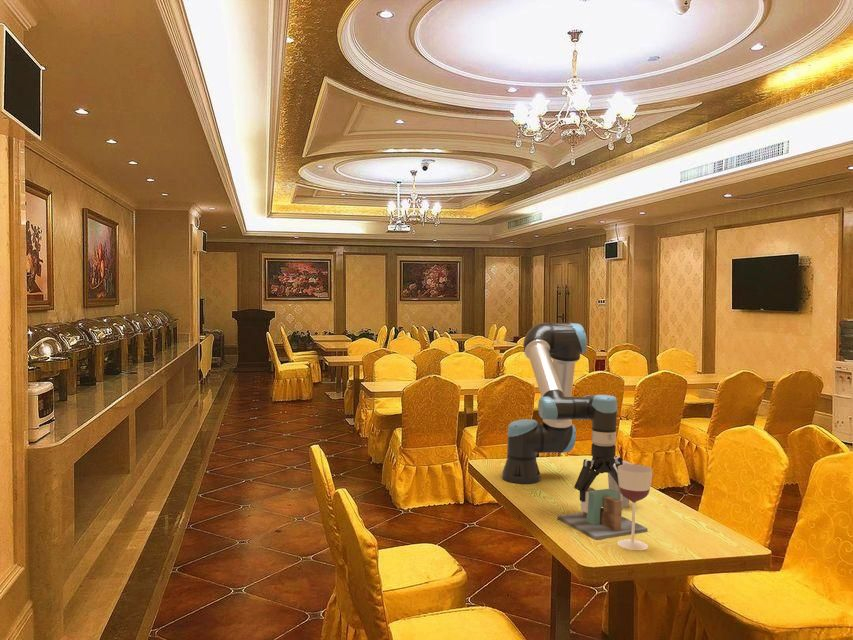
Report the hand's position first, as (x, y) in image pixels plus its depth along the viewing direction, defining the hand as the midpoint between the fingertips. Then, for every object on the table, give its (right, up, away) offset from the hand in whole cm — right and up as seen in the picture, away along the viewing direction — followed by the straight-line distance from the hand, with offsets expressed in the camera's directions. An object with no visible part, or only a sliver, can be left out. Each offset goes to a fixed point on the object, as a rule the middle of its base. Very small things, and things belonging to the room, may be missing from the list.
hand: (601, 509), depth 211 cm
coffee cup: (+12, -5, +21) cm, 24 cm away
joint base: (0, -5, 0) cm, 5 cm away
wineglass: (+5, -6, -16) cm, 18 cm away
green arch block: (0, -4, 0) cm, 4 cm away
